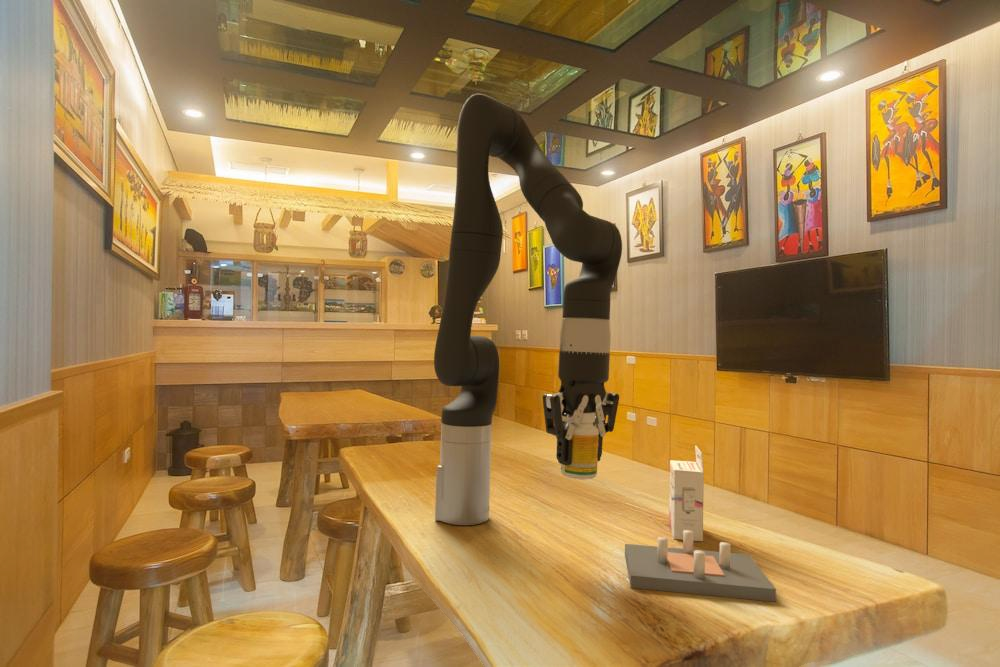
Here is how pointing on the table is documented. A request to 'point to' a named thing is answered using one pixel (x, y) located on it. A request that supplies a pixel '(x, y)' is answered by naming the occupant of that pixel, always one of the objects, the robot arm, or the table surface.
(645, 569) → the pin tray
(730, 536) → the table surface
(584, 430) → the supplement bottle
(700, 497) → the ink cartridge box
